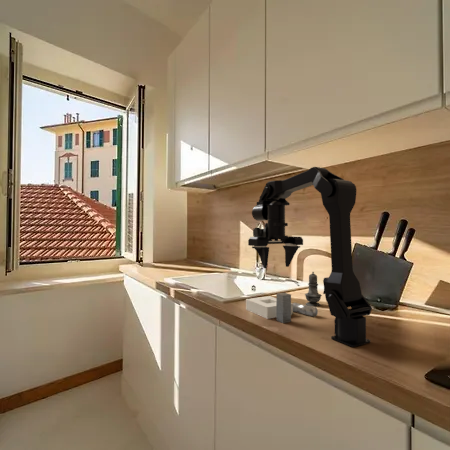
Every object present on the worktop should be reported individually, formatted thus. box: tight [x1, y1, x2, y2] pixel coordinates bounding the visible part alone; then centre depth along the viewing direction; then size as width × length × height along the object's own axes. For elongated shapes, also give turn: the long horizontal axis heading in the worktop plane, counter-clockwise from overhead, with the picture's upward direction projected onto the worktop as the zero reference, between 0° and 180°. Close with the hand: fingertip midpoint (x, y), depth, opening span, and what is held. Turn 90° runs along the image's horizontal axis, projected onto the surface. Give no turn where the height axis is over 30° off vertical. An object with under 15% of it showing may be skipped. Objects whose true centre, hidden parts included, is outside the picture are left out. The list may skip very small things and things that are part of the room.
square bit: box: [275, 292, 292, 324], centre depth 87 cm, size 3×3×8 cm
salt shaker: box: [304, 271, 322, 308], centre depth 107 cm, size 6×6×12 cm
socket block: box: [245, 295, 294, 320], centre depth 97 cm, size 12×10×4 cm
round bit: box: [292, 301, 319, 318], centre depth 95 cm, size 8×3×3 cm, turn 39°
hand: (276, 267), depth 97 cm, fingers open, 9 cm apart
